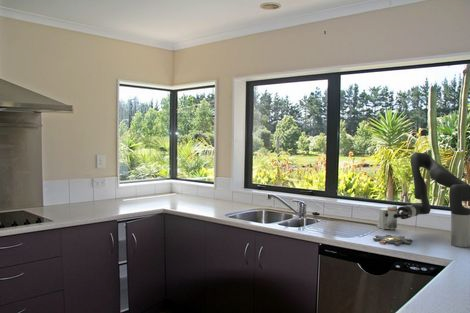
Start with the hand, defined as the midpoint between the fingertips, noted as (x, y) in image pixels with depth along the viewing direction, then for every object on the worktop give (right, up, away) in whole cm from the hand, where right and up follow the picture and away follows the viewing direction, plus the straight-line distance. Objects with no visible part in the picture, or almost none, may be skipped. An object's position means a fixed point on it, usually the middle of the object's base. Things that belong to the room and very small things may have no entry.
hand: (390, 215), depth 219 cm
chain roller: (+2, -7, +2) cm, 7 cm away
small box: (+11, -14, +33) cm, 37 cm away
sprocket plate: (+2, -15, +2) cm, 15 cm away
